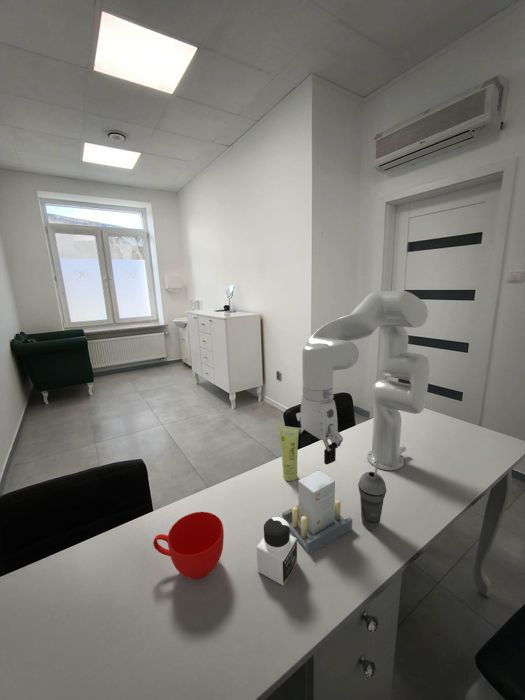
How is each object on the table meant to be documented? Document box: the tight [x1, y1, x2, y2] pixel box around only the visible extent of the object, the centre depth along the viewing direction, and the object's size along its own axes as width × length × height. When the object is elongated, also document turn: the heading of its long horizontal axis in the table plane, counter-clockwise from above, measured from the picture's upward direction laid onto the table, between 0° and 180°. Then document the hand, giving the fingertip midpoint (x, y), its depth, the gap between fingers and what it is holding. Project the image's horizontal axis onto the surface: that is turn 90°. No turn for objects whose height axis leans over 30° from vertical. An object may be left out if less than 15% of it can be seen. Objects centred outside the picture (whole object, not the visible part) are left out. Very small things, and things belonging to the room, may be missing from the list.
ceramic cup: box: [152, 511, 225, 580], centre depth 72 cm, size 13×17×10 cm
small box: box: [297, 470, 336, 535], centre depth 83 cm, size 8×6×13 cm
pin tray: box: [281, 499, 353, 555], centre depth 83 cm, size 15×12×7 cm
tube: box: [277, 424, 300, 482], centre depth 103 cm, size 6×5×20 cm
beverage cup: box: [357, 461, 387, 531], centre depth 82 cm, size 7×7×20 cm
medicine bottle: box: [256, 516, 298, 586], centre depth 71 cm, size 7×7×12 cm
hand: (317, 453), depth 79 cm, fingers open, 9 cm apart
